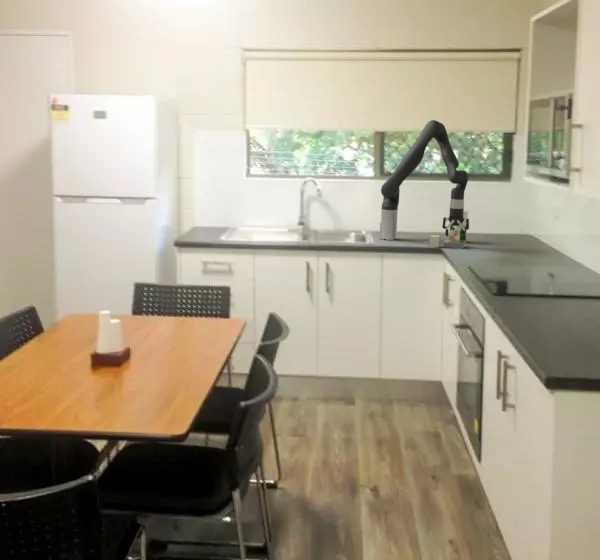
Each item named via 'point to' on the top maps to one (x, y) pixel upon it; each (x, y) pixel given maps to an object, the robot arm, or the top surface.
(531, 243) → the top surface
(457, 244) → the slate base
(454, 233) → the maple block
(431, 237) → the sage block
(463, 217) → the soya milk
